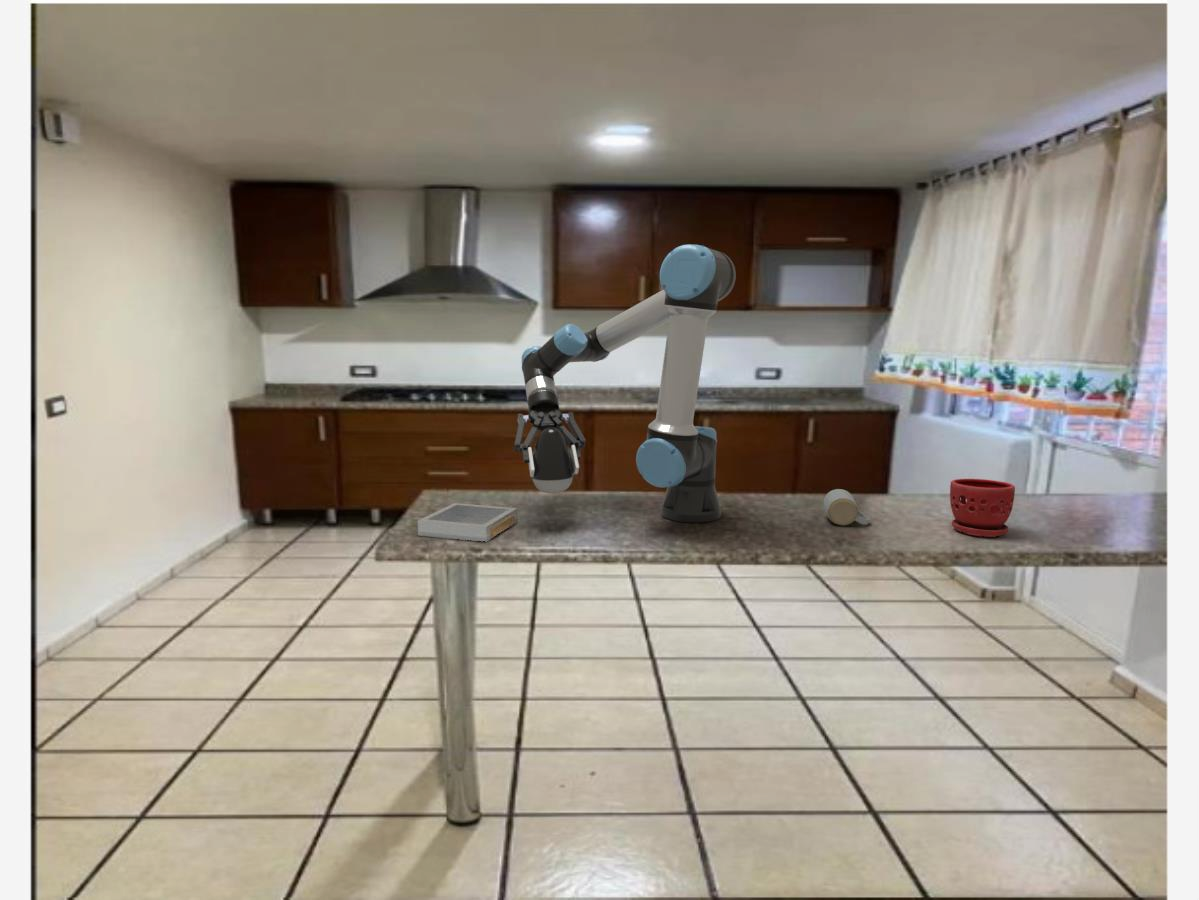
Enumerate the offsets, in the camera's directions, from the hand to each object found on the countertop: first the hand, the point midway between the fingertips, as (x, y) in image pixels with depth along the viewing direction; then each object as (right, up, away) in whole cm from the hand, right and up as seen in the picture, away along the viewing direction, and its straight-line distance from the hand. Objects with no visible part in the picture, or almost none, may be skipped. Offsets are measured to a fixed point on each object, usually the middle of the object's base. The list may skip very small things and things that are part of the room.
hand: (554, 472), depth 154 cm
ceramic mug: (+71, -13, +10) cm, 73 cm away
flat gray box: (-20, -13, +3) cm, 24 cm away
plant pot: (+100, -14, +3) cm, 101 cm away
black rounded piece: (-1, -5, +4) cm, 6 cm away
